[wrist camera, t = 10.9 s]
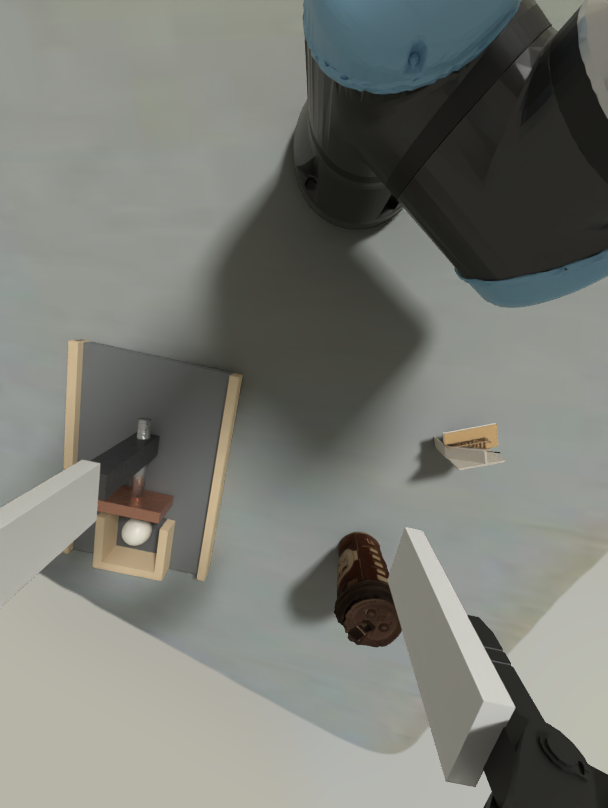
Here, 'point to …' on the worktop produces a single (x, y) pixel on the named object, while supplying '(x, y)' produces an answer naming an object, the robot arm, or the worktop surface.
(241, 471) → the worktop surface
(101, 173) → the worktop surface
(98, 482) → the robot arm
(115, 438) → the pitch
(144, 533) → the ball
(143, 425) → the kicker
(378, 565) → the coffee cup
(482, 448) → the architectural model
